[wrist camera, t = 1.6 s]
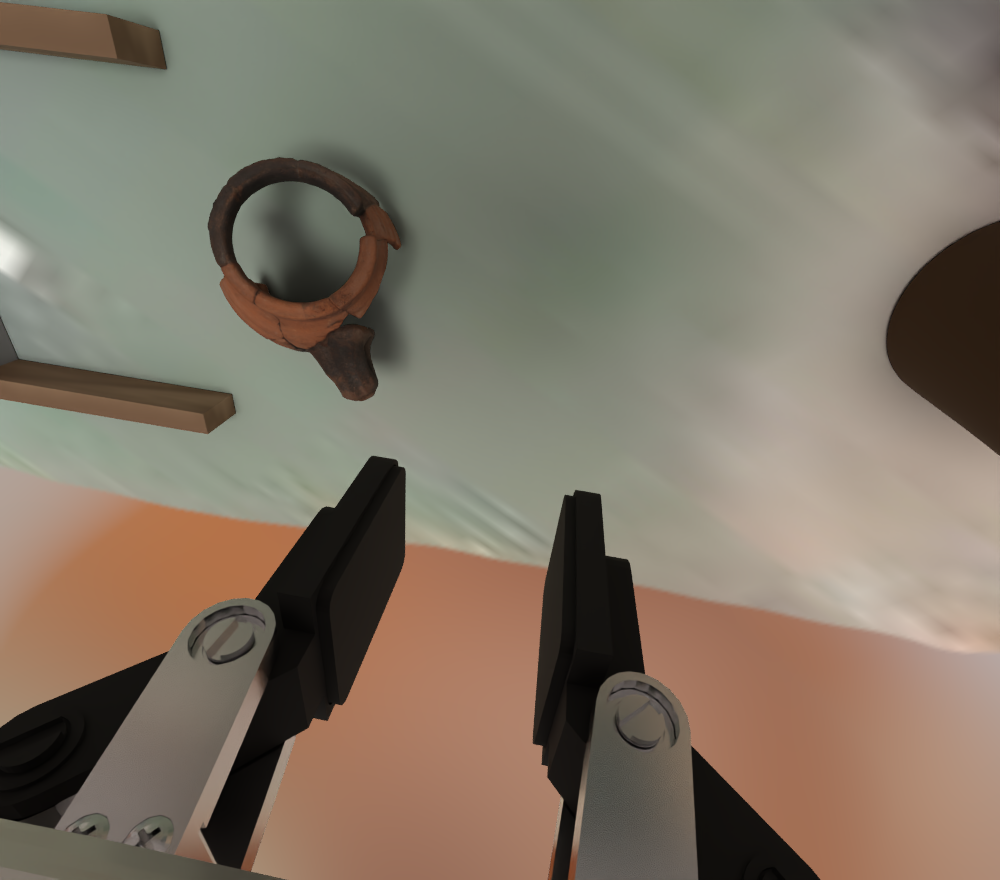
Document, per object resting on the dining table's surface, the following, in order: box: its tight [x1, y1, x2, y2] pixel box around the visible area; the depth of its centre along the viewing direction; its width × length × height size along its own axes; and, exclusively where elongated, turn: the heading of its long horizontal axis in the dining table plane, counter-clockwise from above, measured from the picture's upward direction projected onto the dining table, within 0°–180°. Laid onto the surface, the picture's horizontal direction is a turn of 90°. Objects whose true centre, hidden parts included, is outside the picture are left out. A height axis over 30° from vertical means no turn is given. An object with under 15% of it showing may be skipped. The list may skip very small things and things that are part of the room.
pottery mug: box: [208, 157, 401, 401], centre depth 26 cm, size 12×10×8 cm
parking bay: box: [0, 2, 236, 434], centre depth 28 cm, size 21×18×3 cm
